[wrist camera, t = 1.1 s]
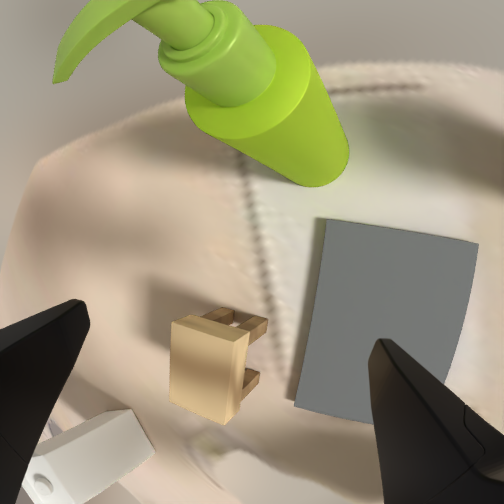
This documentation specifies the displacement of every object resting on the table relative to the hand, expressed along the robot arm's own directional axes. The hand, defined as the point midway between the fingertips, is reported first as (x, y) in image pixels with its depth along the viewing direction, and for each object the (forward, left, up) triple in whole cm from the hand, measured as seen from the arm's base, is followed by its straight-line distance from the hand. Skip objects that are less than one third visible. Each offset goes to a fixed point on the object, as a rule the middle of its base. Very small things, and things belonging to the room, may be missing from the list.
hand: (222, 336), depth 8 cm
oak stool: (-8, +6, -16) cm, 19 cm away
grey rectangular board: (-4, -6, -16) cm, 18 cm away
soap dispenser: (+9, +3, -17) cm, 19 cm away
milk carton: (-27, +21, -17) cm, 38 cm away
